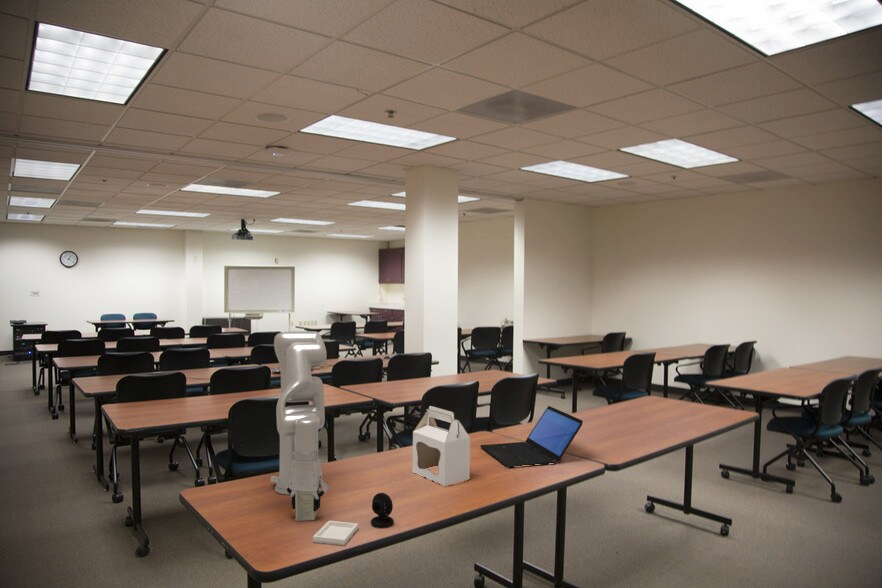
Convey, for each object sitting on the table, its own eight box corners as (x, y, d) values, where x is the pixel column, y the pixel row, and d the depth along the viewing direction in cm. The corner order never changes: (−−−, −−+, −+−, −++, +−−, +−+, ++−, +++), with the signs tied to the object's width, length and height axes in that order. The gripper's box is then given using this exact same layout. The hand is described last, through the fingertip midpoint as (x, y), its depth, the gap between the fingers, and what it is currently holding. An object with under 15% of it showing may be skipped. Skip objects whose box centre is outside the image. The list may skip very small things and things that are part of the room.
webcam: (365, 524, 181) (365, 494, 181) (380, 517, 187) (380, 487, 187) (384, 530, 176) (384, 499, 176) (398, 522, 183) (399, 492, 183)
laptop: (479, 448, 272) (480, 409, 272) (548, 443, 283) (549, 405, 283) (507, 469, 240) (508, 425, 240) (583, 463, 251) (584, 420, 251)
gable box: (411, 472, 233) (412, 406, 233) (436, 466, 242) (437, 402, 242) (444, 487, 216) (445, 415, 216) (470, 480, 224) (471, 411, 224)
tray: (312, 542, 167) (313, 536, 167) (328, 526, 179) (329, 520, 179) (344, 546, 165) (344, 540, 165) (358, 529, 177) (358, 523, 177)
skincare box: (316, 515, 187) (317, 479, 187) (314, 521, 183) (314, 483, 183) (297, 515, 187) (297, 479, 187) (294, 520, 183) (294, 483, 183)
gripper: (277, 456, 183) (276, 510, 183) (326, 460, 180) (325, 515, 180) (287, 450, 190) (287, 502, 190) (335, 454, 187) (334, 507, 187)
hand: (305, 508), depth 185 cm, fingers closed on skincare box, 6 cm apart
